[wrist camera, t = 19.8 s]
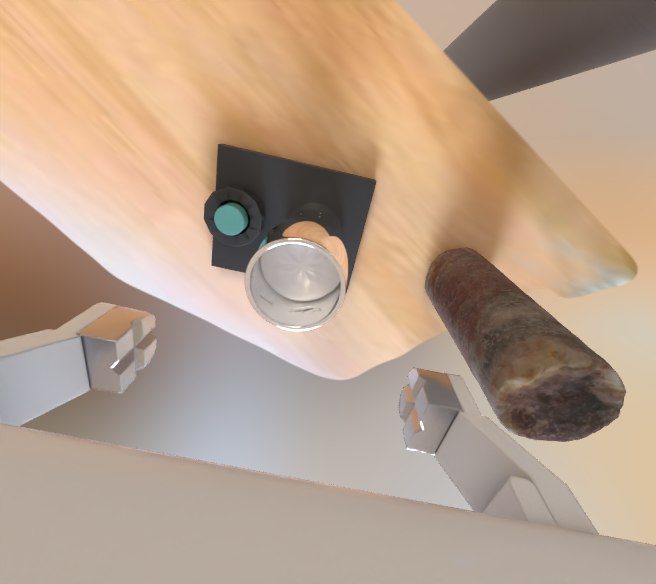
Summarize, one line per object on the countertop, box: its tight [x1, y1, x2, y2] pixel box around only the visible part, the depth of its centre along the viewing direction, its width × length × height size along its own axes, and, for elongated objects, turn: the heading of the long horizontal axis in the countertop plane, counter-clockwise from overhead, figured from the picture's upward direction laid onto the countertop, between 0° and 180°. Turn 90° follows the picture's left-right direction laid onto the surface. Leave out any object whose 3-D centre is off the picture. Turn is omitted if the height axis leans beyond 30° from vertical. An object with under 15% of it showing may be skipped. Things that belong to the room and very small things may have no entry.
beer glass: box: [245, 202, 348, 331], centre depth 26 cm, size 7×7×15 cm
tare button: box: [214, 203, 248, 235], centre depth 31 cm, size 3×3×2 cm
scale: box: [204, 144, 376, 293], centre depth 33 cm, size 16×13×3 cm
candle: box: [425, 248, 626, 442], centre depth 27 cm, size 8×7×20 cm
